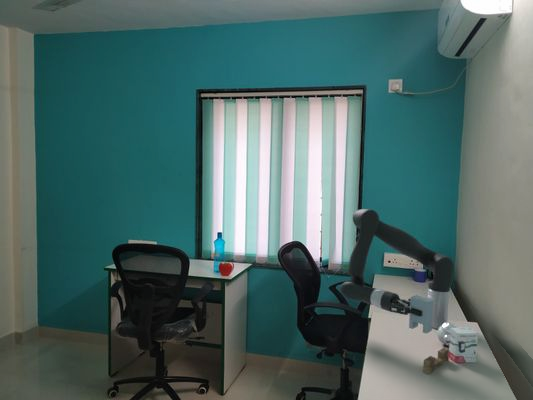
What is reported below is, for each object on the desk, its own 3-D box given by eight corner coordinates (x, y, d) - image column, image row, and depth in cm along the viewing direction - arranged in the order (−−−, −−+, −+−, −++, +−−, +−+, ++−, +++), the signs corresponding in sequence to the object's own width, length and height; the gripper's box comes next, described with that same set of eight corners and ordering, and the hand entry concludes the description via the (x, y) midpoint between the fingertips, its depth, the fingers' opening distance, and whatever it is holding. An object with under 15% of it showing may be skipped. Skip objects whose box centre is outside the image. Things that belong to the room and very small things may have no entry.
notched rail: (443, 358, 158) (444, 347, 158) (448, 360, 157) (449, 349, 156) (422, 372, 147) (423, 360, 147) (428, 374, 146) (429, 362, 145)
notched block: (414, 325, 160) (416, 295, 159) (431, 330, 155) (433, 299, 153) (409, 327, 157) (410, 297, 156) (426, 333, 152) (428, 302, 151)
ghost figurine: (432, 345, 170) (433, 321, 169) (442, 338, 176) (443, 316, 175) (454, 352, 163) (455, 328, 162) (463, 346, 170) (465, 322, 169)
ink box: (455, 363, 155) (457, 333, 154) (448, 357, 160) (450, 327, 158) (476, 362, 156) (478, 332, 155) (468, 356, 161) (470, 327, 160)
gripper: (375, 294, 162) (415, 306, 149) (394, 287, 171) (434, 298, 159) (374, 313, 163) (414, 326, 150) (393, 305, 172) (433, 317, 159)
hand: (424, 312), depth 154 cm, fingers closed on notched block, 4 cm apart
